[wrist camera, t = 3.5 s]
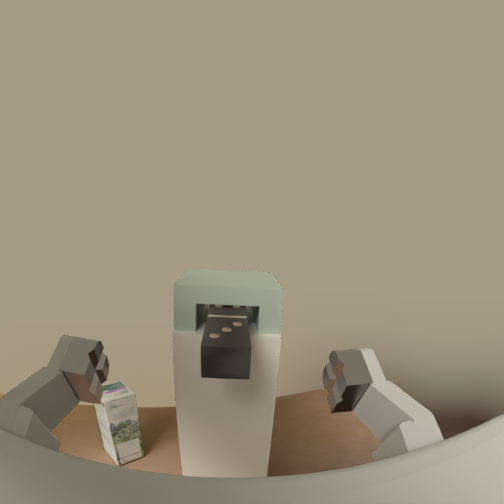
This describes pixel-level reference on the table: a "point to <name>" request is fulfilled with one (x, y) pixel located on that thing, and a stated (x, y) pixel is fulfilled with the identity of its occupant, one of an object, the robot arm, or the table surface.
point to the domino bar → (226, 343)
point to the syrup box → (119, 423)
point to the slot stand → (226, 390)
